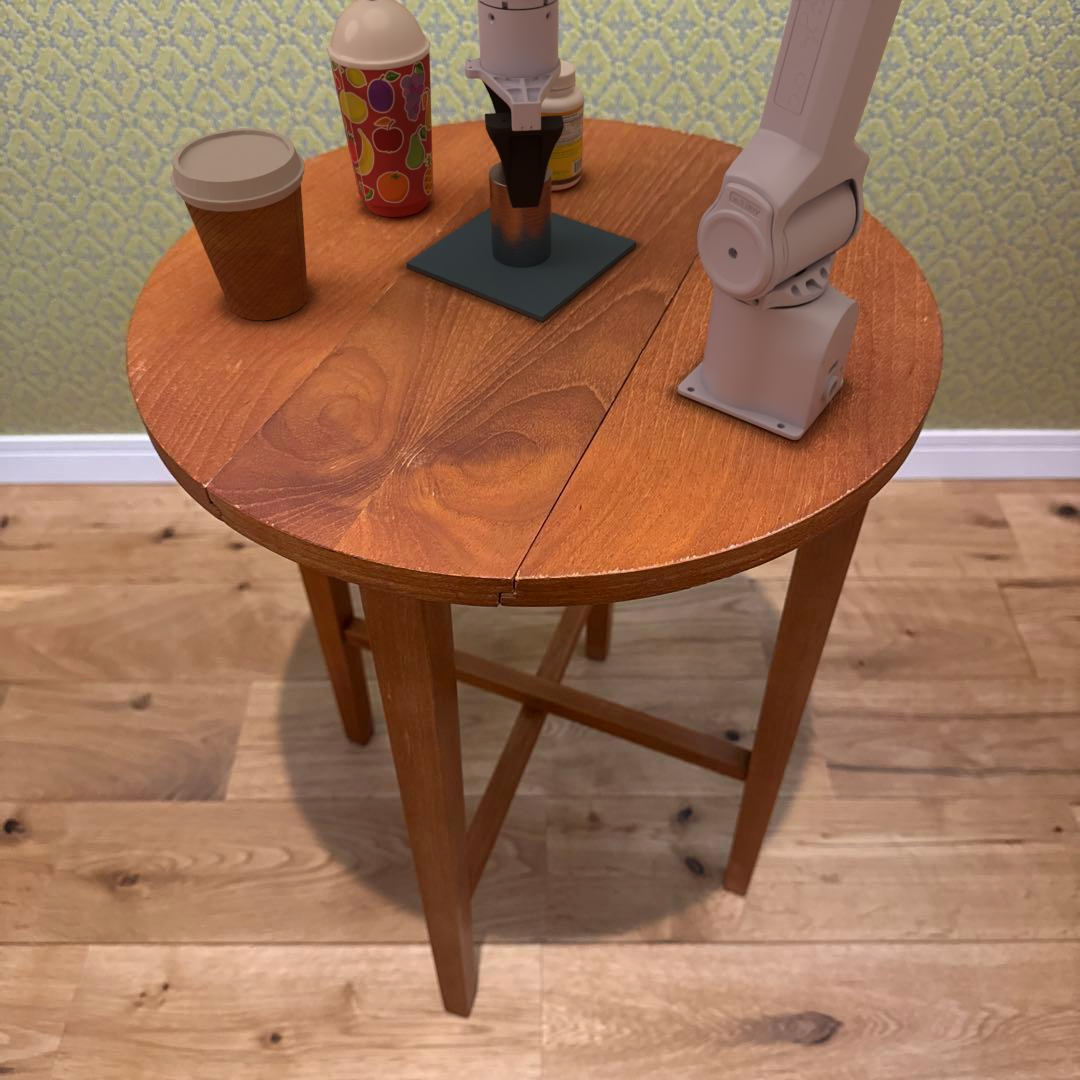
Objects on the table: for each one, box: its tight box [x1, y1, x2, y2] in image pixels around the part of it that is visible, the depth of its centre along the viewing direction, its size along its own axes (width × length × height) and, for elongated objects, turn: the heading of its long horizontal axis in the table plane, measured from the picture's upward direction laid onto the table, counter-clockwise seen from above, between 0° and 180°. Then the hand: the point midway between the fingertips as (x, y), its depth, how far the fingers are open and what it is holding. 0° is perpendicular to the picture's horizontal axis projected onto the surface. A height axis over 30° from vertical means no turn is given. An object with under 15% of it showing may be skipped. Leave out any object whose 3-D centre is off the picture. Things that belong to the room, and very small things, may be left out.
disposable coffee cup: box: [170, 127, 309, 321], centre depth 74 cm, size 10×10×12 cm
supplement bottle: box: [541, 59, 585, 191], centre depth 88 cm, size 6×6×10 cm
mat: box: [405, 207, 637, 323], centre depth 82 cm, size 14×14×1 cm
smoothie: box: [326, 0, 434, 218], centre depth 82 cm, size 8×8×20 cm
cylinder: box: [488, 161, 552, 267], centre depth 80 cm, size 5×5×7 cm
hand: (521, 182), depth 78 cm, fingers open, 7 cm apart
